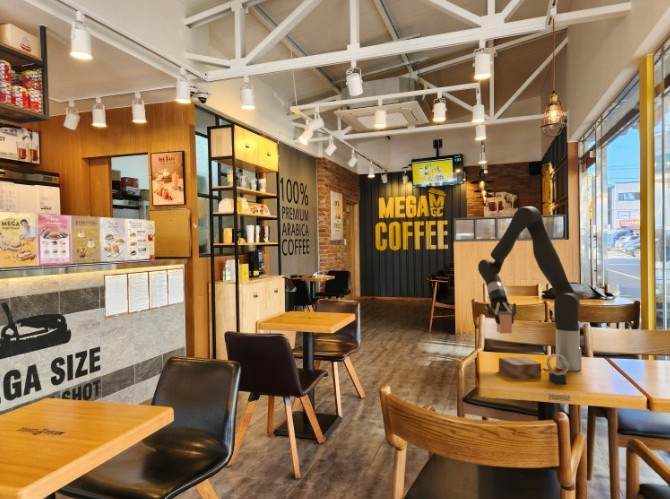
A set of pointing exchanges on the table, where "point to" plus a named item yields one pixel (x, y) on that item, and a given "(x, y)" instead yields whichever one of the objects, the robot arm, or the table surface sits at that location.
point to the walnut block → (520, 367)
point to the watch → (558, 376)
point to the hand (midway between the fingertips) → (505, 323)
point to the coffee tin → (505, 322)
